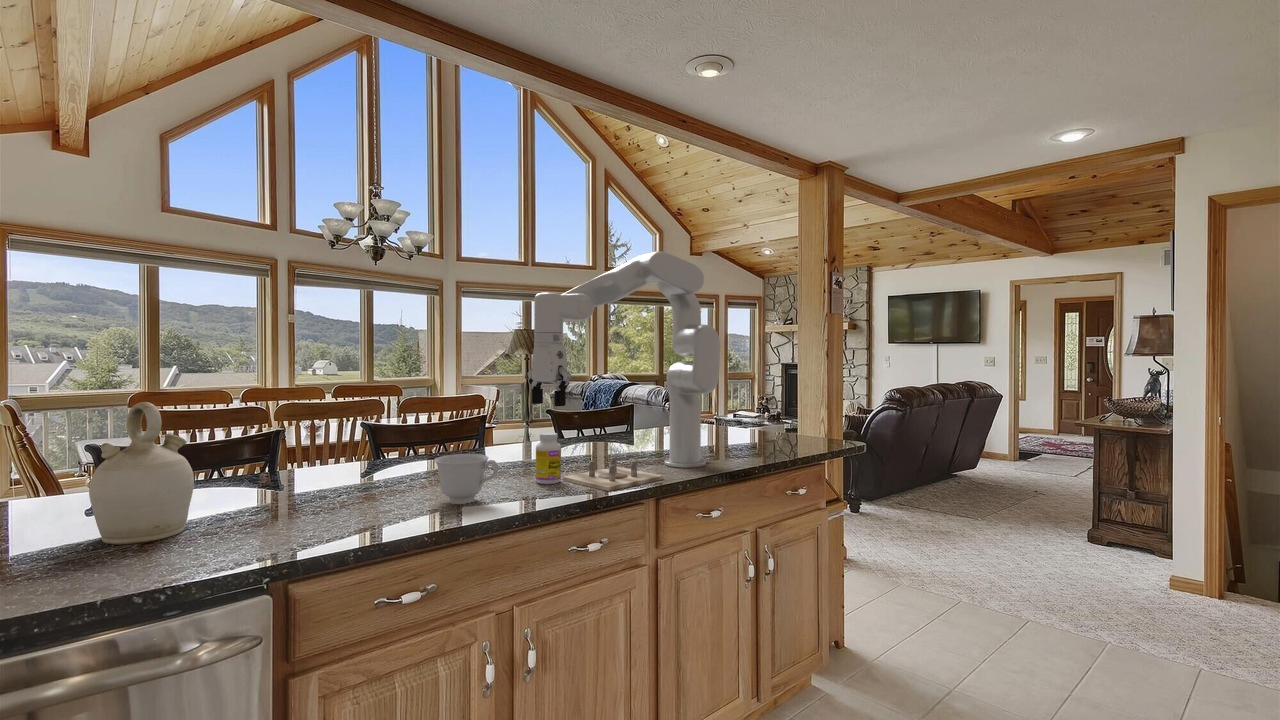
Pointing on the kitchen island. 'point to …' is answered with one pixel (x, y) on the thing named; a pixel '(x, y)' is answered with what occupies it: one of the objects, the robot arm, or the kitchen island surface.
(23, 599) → the kitchen island surface
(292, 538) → the kitchen island surface
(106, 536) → the jug
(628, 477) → the holder
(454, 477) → the teacup
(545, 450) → the supplement bottle
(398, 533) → the kitchen island surface
